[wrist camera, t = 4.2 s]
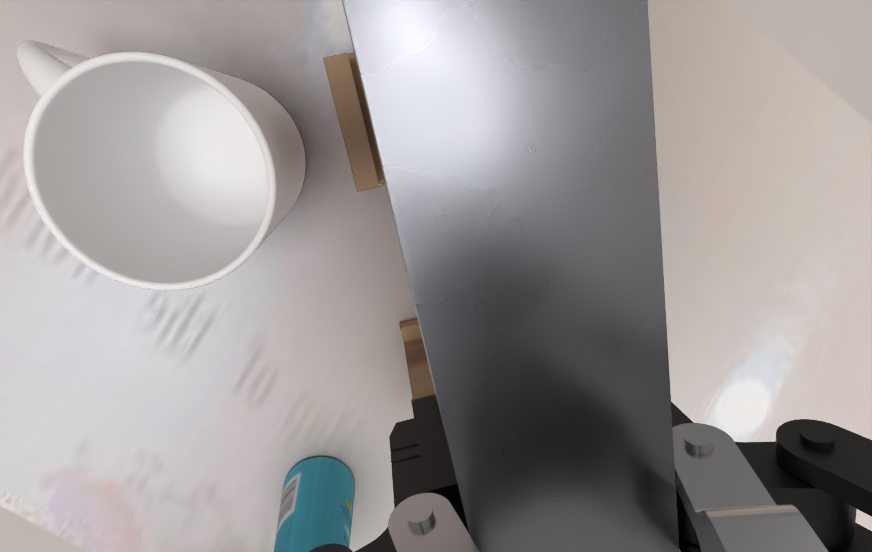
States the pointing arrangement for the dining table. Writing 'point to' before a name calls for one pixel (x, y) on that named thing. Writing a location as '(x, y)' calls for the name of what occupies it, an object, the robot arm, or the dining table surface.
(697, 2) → the dining table surface
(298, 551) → the tube
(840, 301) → the dining table surface
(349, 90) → the post
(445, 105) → the rail
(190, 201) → the mug
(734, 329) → the dining table surface
